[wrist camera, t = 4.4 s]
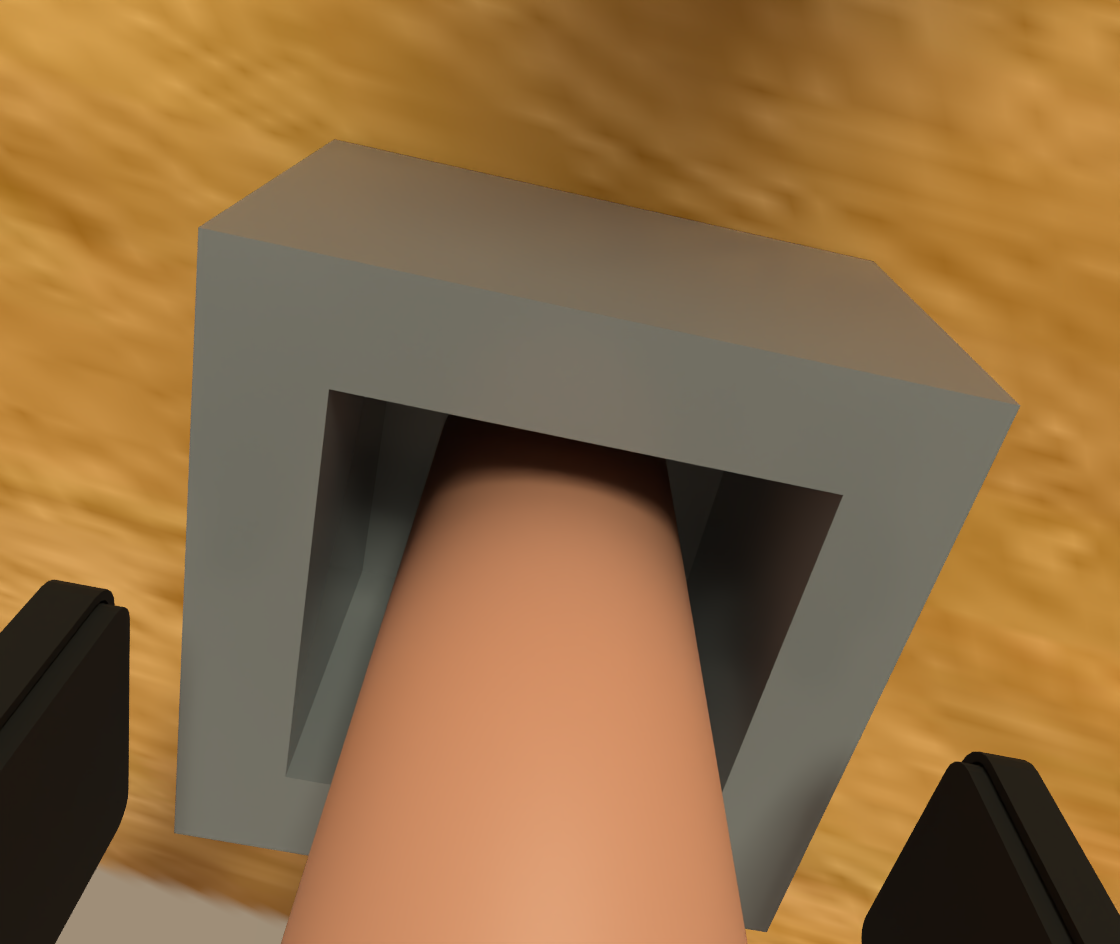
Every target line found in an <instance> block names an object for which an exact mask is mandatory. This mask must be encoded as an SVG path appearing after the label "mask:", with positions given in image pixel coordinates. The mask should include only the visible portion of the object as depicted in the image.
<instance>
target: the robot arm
mask: <svg viewBox="0 0 1120 944" xmlns="http://www.w3.org/2000/svg"><path fill="white" fill-rule="evenodd" d="M129 651H130V617H129V612H128V609H127V608H125V607H120V606H115V605H114V597H113V595H112V592H111V591H109V590H107V589H102V588H96V587H91V586H86V585H80V584H75V583H70V582H64V581H59V580H51V581H48V582H47V583H45V584H44V585H43V586H42V587H41V588H40V589H39V590H38V591H37V592H36V594H35V595H34V596H33V597H32V598H31V599H30V600H29V601H28V603H27V604H26V605H25V606H24V607H23V608H22V609H21V610H20V612H19V613H18V614H17V615H16V616H15V617H14V618H13V619H12V620H11V622H10V623H9V624H8V625H7V626H6V627H5V628H4V629H3V631H2V632H1V633H0V944H55V943H56V941H57V939H58V937H59V935H60V934H61V931H62V930H63V928H64V925H65V924H66V923H67V920H68V919H69V917H70V915H71V913H72V911H73V910H74V908H75V906H76V904H77V902H78V901H79V899H80V897H81V895H82V893H83V892H84V890H85V888H86V886H87V884H88V882H89V881H90V879H91V877H92V875H93V873H94V871H95V870H96V868H97V866H98V864H99V862H100V860H101V859H102V857H103V855H104V853H105V851H106V850H107V848H108V846H109V844H110V842H111V840H112V839H113V837H114V835H115V833H116V831H117V829H118V827H119V825H120V823H121V820H122V817H123V815H124V811H125V808H126V804H127V799H128V776H129ZM862 944H1120V915H1119V913H1118V912H1117V910H1116V908H1115V906H1114V904H1113V903H1112V901H1111V899H1110V897H1109V896H1108V894H1107V892H1106V890H1105V889H1104V887H1103V885H1102V883H1101V882H1100V880H1099V878H1098V876H1097V875H1096V873H1095V871H1094V869H1093V868H1092V866H1091V864H1090V862H1089V861H1088V859H1087V857H1086V855H1085V854H1084V852H1083V850H1082V848H1081V847H1080V845H1079V843H1078V841H1077V840H1076V838H1075V836H1074V834H1073V833H1072V831H1071V829H1070V827H1069V826H1068V824H1067V822H1066V820H1065V819H1064V817H1063V815H1062V813H1061V812H1060V810H1059V808H1058V806H1057V805H1056V803H1055V801H1054V799H1053V798H1052V796H1051V794H1050V792H1049V791H1048V789H1047V787H1046V785H1045V784H1044V782H1043V780H1042V778H1041V777H1040V775H1039V773H1038V771H1037V770H1036V769H1035V768H1034V766H1033V765H1032V764H1031V763H1029V762H1027V761H1025V760H1021V759H1016V758H1010V757H1005V756H999V755H994V754H989V753H983V752H972V753H970V754H968V755H967V756H966V757H965V758H964V760H963V761H962V762H954V763H952V764H950V766H949V767H948V768H947V770H946V772H945V773H944V775H943V777H942V779H941V781H940V782H939V784H938V786H937V788H936V790H935V792H934V793H933V795H932V797H931V799H930V801H929V802H928V804H927V806H926V808H925V810H924V812H923V813H922V815H921V817H920V819H919V821H918V823H917V824H916V826H915V828H914V830H913V832H912V833H911V835H910V837H909V839H908V841H907V843H906V844H905V846H904V848H903V850H902V852H901V853H900V855H899V857H898V859H897V861H896V863H895V864H894V866H893V868H892V870H891V872H890V874H889V875H888V877H887V879H886V881H885V883H884V884H883V886H882V888H881V890H880V892H879V894H878V895H877V897H876V899H875V901H874V903H873V905H872V906H871V908H870V910H869V912H868V914H867V915H866V918H865V920H864V923H863V928H862Z"/></svg>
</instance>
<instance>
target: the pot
mask: <svg viewBox="0 0 1120 944" xmlns="http://www.w3.org/2000/svg"><path fill="white" fill-rule="evenodd" d="M1019 407H1020V405H1019V404H1018V403H1017V402H1016V401H1015V400H1014V399H1013V398H1012V397H1011V396H1010V395H1009V394H1008V393H1007V392H1006V391H1005V390H1004V389H1003V388H1002V387H1001V386H1000V385H999V384H998V383H997V382H996V381H995V380H994V379H993V378H992V377H991V376H990V375H988V374H987V373H986V372H985V371H984V370H983V369H982V368H981V367H980V366H979V365H978V364H977V363H976V362H975V361H974V360H973V359H972V358H971V357H970V356H969V355H968V354H967V353H966V352H965V351H964V350H963V349H962V348H961V347H960V346H959V345H958V344H957V343H956V342H955V341H954V340H953V339H952V338H951V337H950V336H949V335H948V334H947V333H946V332H945V331H944V330H943V329H942V328H941V327H940V326H939V325H938V324H937V323H936V322H935V321H934V320H933V319H932V318H931V317H930V316H928V315H927V314H926V313H925V312H924V311H923V310H922V309H921V308H920V307H919V306H918V305H917V304H916V303H915V302H914V301H913V300H912V299H911V298H910V297H909V296H908V295H907V294H906V293H905V292H904V291H903V290H902V289H901V288H900V287H899V286H898V285H897V284H896V283H895V282H894V281H893V280H892V279H891V278H890V277H889V276H888V275H887V274H886V273H885V272H884V271H883V270H882V269H881V268H880V267H879V266H878V265H877V264H876V263H875V262H874V261H869V260H865V259H860V258H856V257H851V256H847V255H843V254H838V253H834V252H829V251H825V250H821V249H816V248H812V247H807V246H803V245H799V244H794V243H790V242H785V241H781V240H776V239H772V238H768V237H763V236H759V235H754V234H750V233H746V232H741V231H737V230H732V229H728V228H724V227H719V226H715V225H710V224H706V223H701V222H697V221H693V220H688V219H684V218H679V217H675V216H671V215H666V214H662V213H657V212H653V211H649V210H644V209H640V208H635V207H631V206H626V205H622V204H618V203H613V202H609V201H604V200H600V199H596V198H591V197H587V196H582V195H578V194H574V193H569V192H565V191H560V190H556V189H551V188H547V187H543V186H538V185H534V184H529V183H525V182H521V181H516V180H512V179H507V178H503V177H499V176H494V175H490V174H485V173H481V172H476V171H472V170H468V169H463V168H459V167H454V166H450V165H446V164H441V163H437V162H432V161H428V160H424V159H419V158H415V157H410V156H406V155H401V154H397V153H393V152H388V151H384V150H379V149H375V148H371V147H366V146H362V145H357V144H353V143H349V142H344V141H340V140H335V139H334V140H333V141H331V142H329V143H328V144H326V145H325V146H323V147H322V148H320V149H319V150H317V151H316V152H314V153H313V154H311V155H309V156H308V157H306V158H305V159H303V160H302V161H300V162H299V163H297V164H296V165H294V166H292V167H291V168H289V169H288V170H286V171H285V172H283V173H282V174H280V175H279V176H277V177H276V178H274V179H272V180H271V181H269V182H268V183H266V184H265V185H263V186H262V187H260V188H259V189H257V190H255V191H254V192H252V193H251V194H249V195H248V196H246V197H245V198H243V199H242V200H240V201H239V202H237V203H235V204H234V205H232V206H231V207H229V208H228V209H226V210H225V211H223V212H222V213H220V214H218V215H217V216H215V217H214V218H212V219H211V220H209V221H208V222H206V223H205V224H203V225H202V226H200V227H199V228H198V253H197V278H196V304H195V329H194V354H193V379H192V404H191V429H190V454H189V479H188V504H187V529H186V554H185V579H184V604H183V629H182V654H181V679H180V704H179V729H178V754H177V779H176V804H175V830H174V833H177V834H183V835H189V836H195V837H201V838H207V839H213V840H219V841H225V842H231V843H237V844H243V845H249V846H255V847H261V848H267V849H273V850H279V851H285V852H290V853H296V854H302V855H308V856H309V853H310V850H311V846H312V843H313V840H314V837H315V834H316V830H317V827H318V824H319V821H320V818H321V814H322V811H323V808H324V805H325V802H326V799H327V795H328V792H329V789H330V786H331V783H332V779H333V776H334V773H335V770H336V767H337V764H338V760H339V757H340V754H341V751H342V748H343V744H344V741H345V738H346V735H347V732H348V728H349V725H350V722H351V719H352V716H353V713H354V709H355V706H356V703H357V700H358V697H359V693H360V690H361V687H362V684H363V681H364V678H365V674H366V671H367V668H368V665H369V662H370V658H371V655H372V652H373V649H374V646H375V642H376V639H377V636H378V633H379V630H380V627H381V623H382V620H383V617H384V614H385V611H386V607H387V604H388V601H389V598H390V595H391V592H392V588H393V585H394V582H395V579H396V576H397V572H398V569H399V566H400V563H401V560H402V556H403V553H404V550H405V547H406V544H407V541H408V537H409V534H410V531H411V528H412V525H413V521H414V518H415V515H416V512H417V509H418V506H419V502H420V499H421V496H422V493H423V490H424V486H425V483H426V480H427V477H428V474H429V471H430V467H431V464H432V461H433V458H434V455H435V451H436V448H437V445H438V442H439V439H440V435H441V432H442V429H443V427H444V424H445V422H446V419H447V417H448V415H449V414H452V415H457V416H461V417H466V418H471V419H476V420H481V421H486V422H491V423H495V424H500V425H505V426H510V427H515V428H520V429H525V430H529V431H534V432H539V433H544V434H549V435H554V436H558V437H563V438H568V439H573V440H578V441H583V442H588V443H592V444H597V445H602V446H607V447H612V448H617V449H622V450H626V451H631V452H636V453H641V454H646V455H651V456H656V457H660V458H665V459H666V464H667V470H668V476H669V481H670V487H671V493H672V499H673V505H674V511H675V517H676V523H677V529H678V535H679V541H680V547H681V553H682V559H683V564H684V570H685V576H686V582H687V588H688V594H689V600H690V606H691V612H692V618H693V624H694V630H695V636H696V642H697V647H698V653H699V659H700V665H701V671H702V677H703V683H704V689H705V695H706V701H707V707H708V713H709V719H710V725H711V730H712V736H713V742H714V748H715V754H716V760H717V766H718V772H719V778H720V784H721V790H722V796H723V802H724V808H725V814H726V819H727V825H728V831H729V837H730V843H731V849H732V855H733V861H734V867H735V873H736V879H737V885H738V891H739V897H740V902H741V908H742V914H743V920H744V926H745V929H751V930H757V931H763V932H767V930H768V928H769V926H770V924H771V922H772V920H773V918H774V916H775V914H776V912H777V910H778V908H779V905H780V903H781V901H782V899H783V897H784V895H785V893H786V891H787V889H788V887H789V885H790V883H791V881H792V878H793V876H794V874H795V872H796V870H797V868H798V866H799V864H800V862H801V860H802V858H803V856H804V854H805V851H806V849H807V847H808V845H809V843H810V841H811V839H812V837H813V835H814V833H815V831H816V829H817V827H818V824H819V822H820V820H821V818H822V816H823V814H824V812H825V810H826V808H827V806H828V804H829V802H830V800H831V797H832V795H833V793H834V791H835V789H836V787H837V785H838V783H839V781H840V779H841V777H842V775H843V773H844V771H845V768H846V766H847V764H848V762H849V760H850V758H851V756H852V754H853V752H854V750H855V748H856V746H857V744H858V741H859V739H860V737H861V735H862V733H863V731H864V729H865V727H866V725H867V723H868V721H869V719H870V717H871V714H872V712H873V710H874V708H875V706H876V704H877V702H878V700H879V698H880V696H881V694H882V692H883V690H884V687H885V685H886V683H887V681H888V679H889V677H890V675H891V673H892V671H893V669H894V667H895V665H896V663H897V661H898V658H899V656H900V654H901V652H902V650H903V648H904V646H905V644H906V642H907V640H908V638H909V636H910V634H911V631H912V629H913V627H914V625H915V623H916V621H917V619H918V617H919V615H920V613H921V611H922V609H923V607H924V604H925V602H926V600H927V598H928V596H929V594H930V592H931V590H932V588H933V586H934V584H935V582H936V580H937V577H938V575H939V573H940V571H941V569H942V567H943V565H944V563H945V561H946V559H947V557H948V555H949V553H950V550H951V548H952V546H953V544H954V542H955V540H956V538H957V536H958V534H959V532H960V530H961V528H962V526H963V524H964V521H965V519H966V517H967V515H968V513H969V511H970V509H971V507H972V505H973V503H974V501H975V499H976V497H977V494H978V492H979V490H980V488H981V486H982V484H983V482H984V480H985V478H986V476H987V474H988V472H989V470H990V467H991V465H992V463H993V461H994V459H995V457H996V455H997V453H998V451H999V449H1000V447H1001V445H1002V443H1003V440H1004V438H1005V436H1006V434H1007V432H1008V430H1009V428H1010V426H1011V424H1012V422H1013V420H1014V418H1015V416H1016V414H1017V411H1018V409H1019Z"/></svg>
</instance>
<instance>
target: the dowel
mask: <svg viewBox="0 0 1120 944" xmlns="http://www.w3.org/2000/svg"><path fill="white" fill-rule="evenodd" d="M281 944H747V938H746V932H745V926H744V920H743V914H742V908H741V902H740V897H739V891H738V885H737V879H736V873H735V867H734V861H733V855H732V849H731V843H730V837H729V831H728V825H727V819H726V814H725V808H724V802H723V796H722V790H721V784H720V778H719V772H718V766H717V760H716V754H715V748H714V742H713V736H712V730H711V725H710V719H709V713H708V707H707V701H706V695H705V689H704V683H703V677H702V671H701V665H700V659H699V653H698V647H697V642H696V636H695V630H694V624H693V618H692V612H691V606H690V600H689V594H688V588H687V582H686V576H685V570H684V564H683V559H682V553H681V547H680V541H679V535H678V529H677V523H676V517H675V511H674V505H673V499H672V493H671V487H670V481H669V476H668V470H667V464H666V459H665V458H660V457H656V456H651V455H646V454H641V453H636V452H631V451H626V450H622V449H617V448H612V447H607V446H602V445H597V444H592V443H588V442H583V441H578V440H573V439H568V438H563V437H558V436H554V435H549V434H544V433H539V432H534V431H529V430H525V429H520V428H515V427H510V426H505V425H500V424H495V423H491V422H486V421H481V420H476V419H471V418H466V417H461V416H457V415H452V414H449V415H448V417H447V419H446V422H445V424H444V427H443V429H442V432H441V435H440V439H439V442H438V445H437V448H436V451H435V455H434V458H433V461H432V464H431V467H430V471H429V474H428V477H427V480H426V483H425V486H424V490H423V493H422V496H421V499H420V502H419V506H418V509H417V512H416V515H415V518H414V521H413V525H412V528H411V531H410V534H409V537H408V541H407V544H406V547H405V550H404V553H403V556H402V560H401V563H400V566H399V569H398V572H397V576H396V579H395V582H394V585H393V588H392V592H391V595H390V598H389V601H388V604H387V607H386V611H385V614H384V617H383V620H382V623H381V627H380V630H379V633H378V636H377V639H376V642H375V646H374V649H373V652H372V655H371V658H370V662H369V665H368V668H367V671H366V674H365V678H364V681H363V684H362V687H361V690H360V693H359V697H358V700H357V703H356V706H355V709H354V713H353V716H352V719H351V722H350V725H349V728H348V732H347V735H346V738H345V741H344V744H343V748H342V751H341V754H340V757H339V760H338V764H337V767H336V770H335V773H334V776H333V779H332V783H331V786H330V789H329V792H328V795H327V799H326V802H325V805H324V808H323V811H322V814H321V818H320V821H319V824H318V827H317V830H316V834H315V837H314V840H313V843H312V846H311V850H310V853H309V856H308V859H307V862H306V865H305V869H304V872H303V875H302V878H301V881H300V885H299V888H298V891H297V894H296V897H295V900H294V904H293V907H292V910H291V913H290V916H289V920H288V923H287V926H286V929H285V932H284V936H283V939H282V942H281Z"/></svg>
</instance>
